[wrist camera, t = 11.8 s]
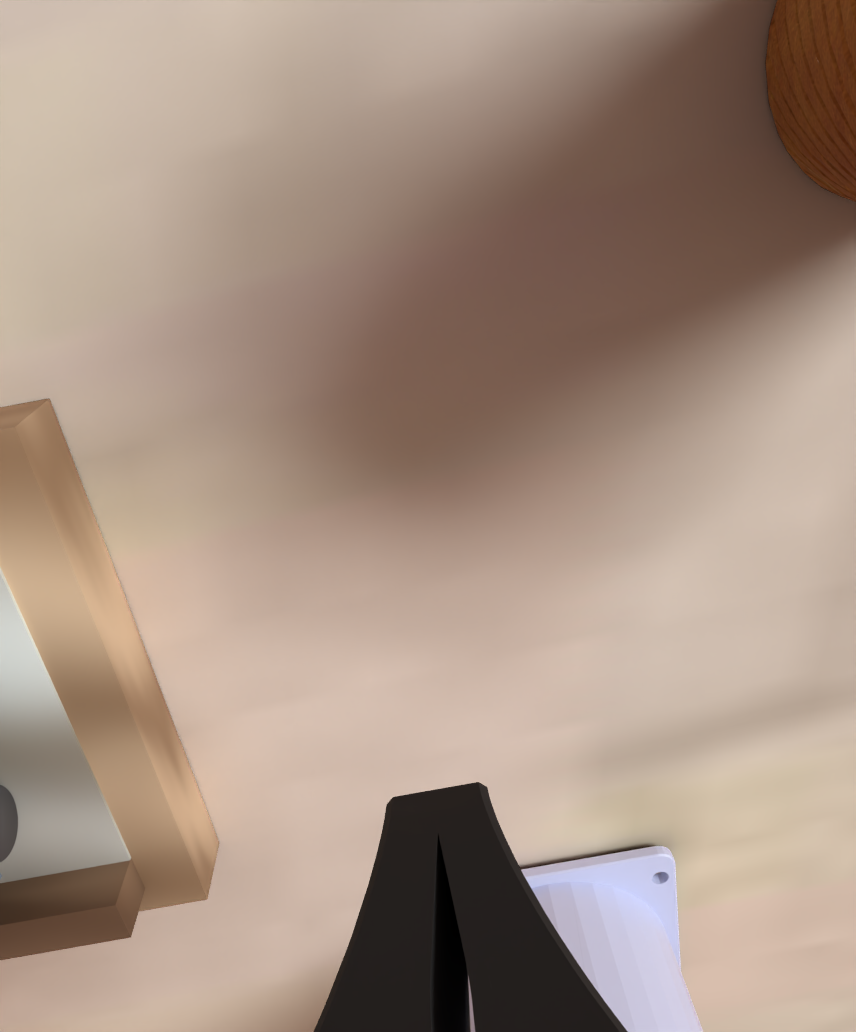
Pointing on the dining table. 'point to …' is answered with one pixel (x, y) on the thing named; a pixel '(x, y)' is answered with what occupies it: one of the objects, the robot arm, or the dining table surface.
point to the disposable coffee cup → (816, 88)
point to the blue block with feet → (7, 823)
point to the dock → (81, 721)
